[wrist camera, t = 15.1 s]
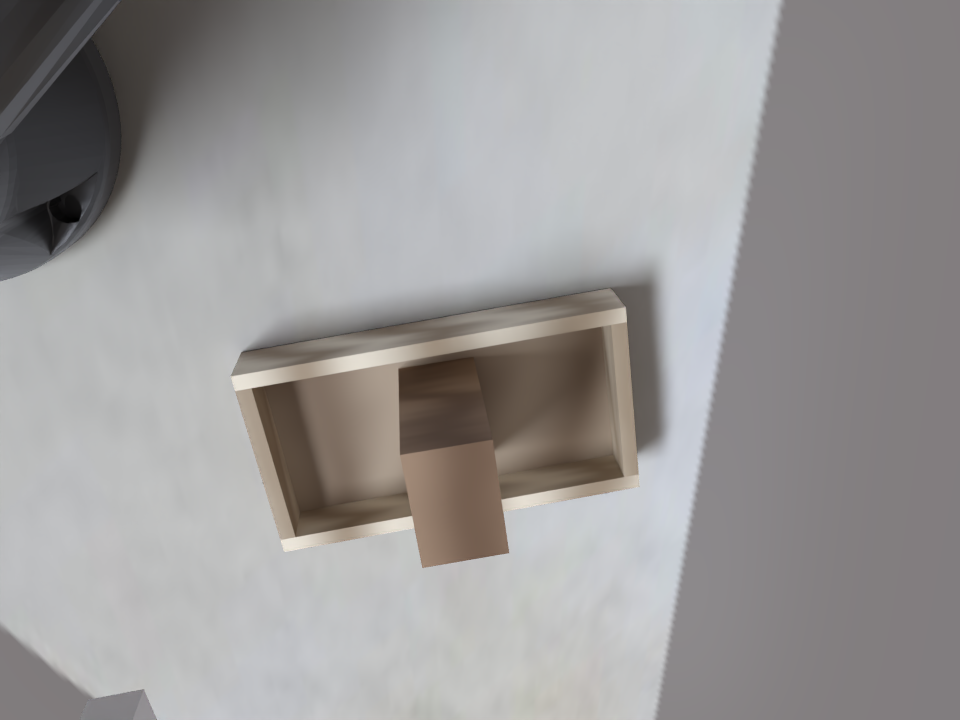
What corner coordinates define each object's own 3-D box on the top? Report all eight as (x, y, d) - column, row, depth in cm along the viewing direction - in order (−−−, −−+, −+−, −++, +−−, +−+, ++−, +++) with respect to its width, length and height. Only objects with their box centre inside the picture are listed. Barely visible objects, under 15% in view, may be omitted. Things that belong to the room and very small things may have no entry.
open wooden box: (290, 519, 46) (284, 552, 43) (241, 352, 42) (230, 376, 39) (624, 458, 47) (639, 486, 44) (610, 287, 42) (625, 307, 39)
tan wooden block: (416, 465, 45) (422, 567, 36) (398, 368, 42) (399, 455, 34) (487, 453, 45) (509, 552, 37) (473, 356, 42) (492, 439, 34)
